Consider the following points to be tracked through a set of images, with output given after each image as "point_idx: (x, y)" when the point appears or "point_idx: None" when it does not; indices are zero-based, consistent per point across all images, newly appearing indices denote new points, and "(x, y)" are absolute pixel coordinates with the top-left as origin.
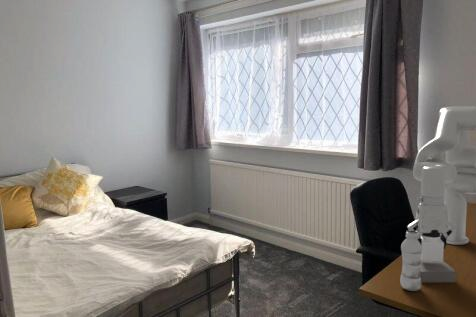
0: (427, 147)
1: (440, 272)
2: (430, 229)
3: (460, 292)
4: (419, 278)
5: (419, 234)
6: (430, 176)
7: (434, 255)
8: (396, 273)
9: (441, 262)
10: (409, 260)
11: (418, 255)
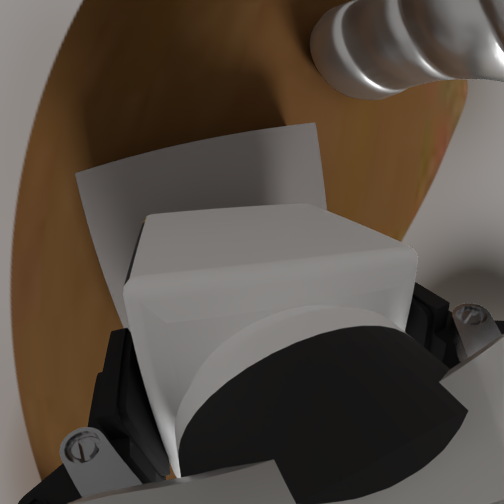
0: None
1: (178, 145)
2: (495, 420)
3: (104, 50)
4: (347, 6)
5: (489, 335)
6: None
7: (230, 218)
8: (368, 221)
9: None
10: None
11: None
